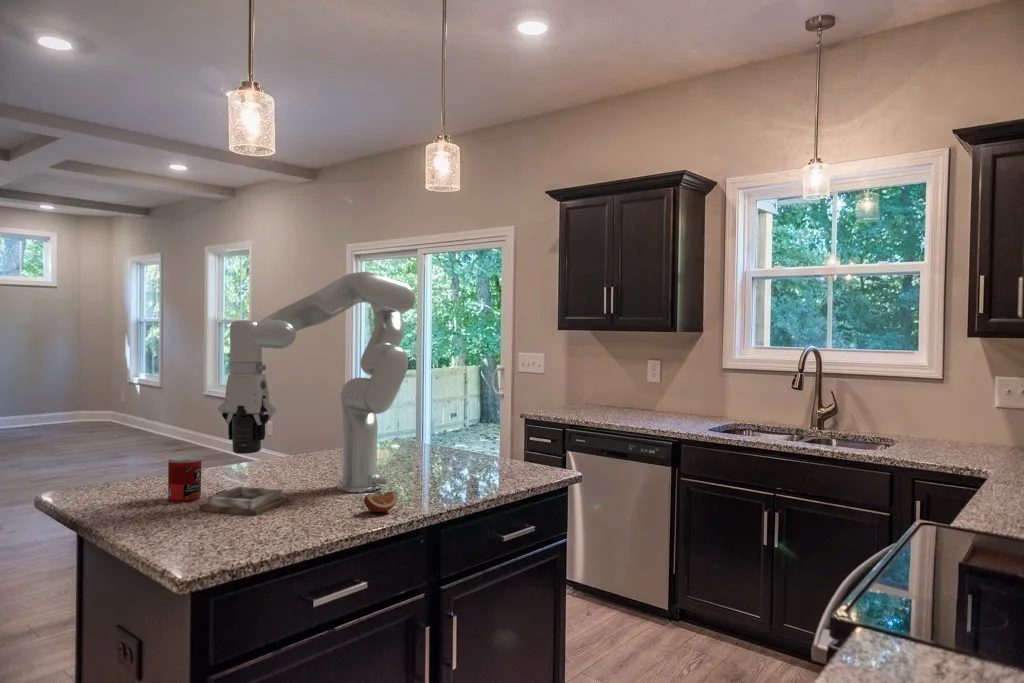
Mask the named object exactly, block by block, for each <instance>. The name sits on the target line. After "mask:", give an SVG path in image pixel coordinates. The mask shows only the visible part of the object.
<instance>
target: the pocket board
mask: <svg viewBox="0 0 1024 683" xmlns="http://www.w3.org/2000/svg"><path fill="white" fill-rule="evenodd" d="M287 502H288V503H289V502H290V497H289V496H282V489H274V488H263V487H251V486H250V487H249V486H238V487H234V488H231V489H228V490H227V489H223V490H220V491H216V492H215V494H214V495H211V496H208V497H207V502H206V503H204V504H200V505H198V506H199V508H198V511H200V510H202V511H203V512H210V511H211V512H212V513H224V514H232V515H242V514H243V515H242V516H245V515H246V516H253V515H257V516H259V515H262V514H264V513H266V511H267V512H269V511H271V510H273V508H274V509H276V508H278V507H280V505H281V506H283V505H285V504H284V503H286V504H287ZM282 504H283V505H282ZM275 507H276V508H275ZM268 510H269V511H268ZM202 511H201V512H202ZM263 512H264V513H263ZM261 513H262V514H261ZM258 514H259V515H258Z"/></svg>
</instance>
